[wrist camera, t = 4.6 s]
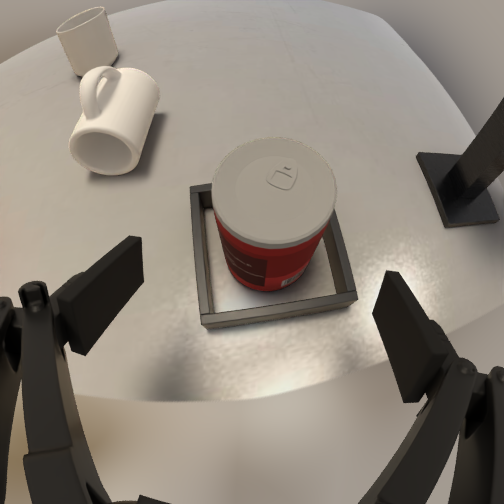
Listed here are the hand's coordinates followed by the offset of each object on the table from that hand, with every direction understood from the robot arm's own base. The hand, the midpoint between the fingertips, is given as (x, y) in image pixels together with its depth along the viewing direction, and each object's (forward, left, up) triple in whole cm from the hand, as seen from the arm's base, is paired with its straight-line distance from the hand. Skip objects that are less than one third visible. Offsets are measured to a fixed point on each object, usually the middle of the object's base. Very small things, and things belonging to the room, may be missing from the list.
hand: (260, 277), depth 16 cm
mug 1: (+52, -8, -11) cm, 53 cm away
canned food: (+4, -5, -11) cm, 13 cm away
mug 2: (+26, -2, -11) cm, 28 cm away
